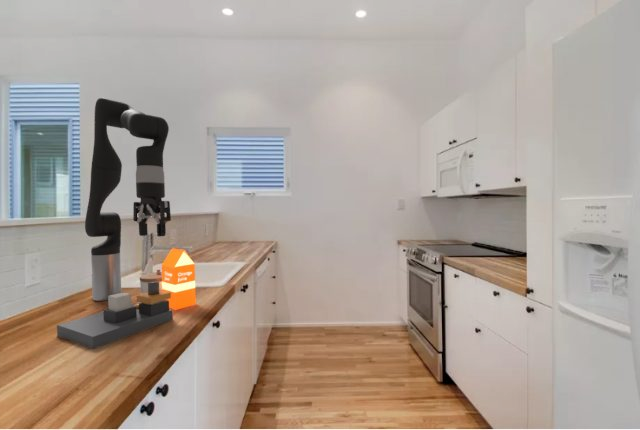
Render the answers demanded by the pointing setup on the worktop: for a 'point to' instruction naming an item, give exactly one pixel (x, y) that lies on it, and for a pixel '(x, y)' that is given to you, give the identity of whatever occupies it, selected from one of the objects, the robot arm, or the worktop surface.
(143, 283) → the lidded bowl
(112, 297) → the breaker plain
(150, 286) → the cap
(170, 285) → the orange juice
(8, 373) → the worktop surface
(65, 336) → the breaker panel
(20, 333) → the worktop surface
